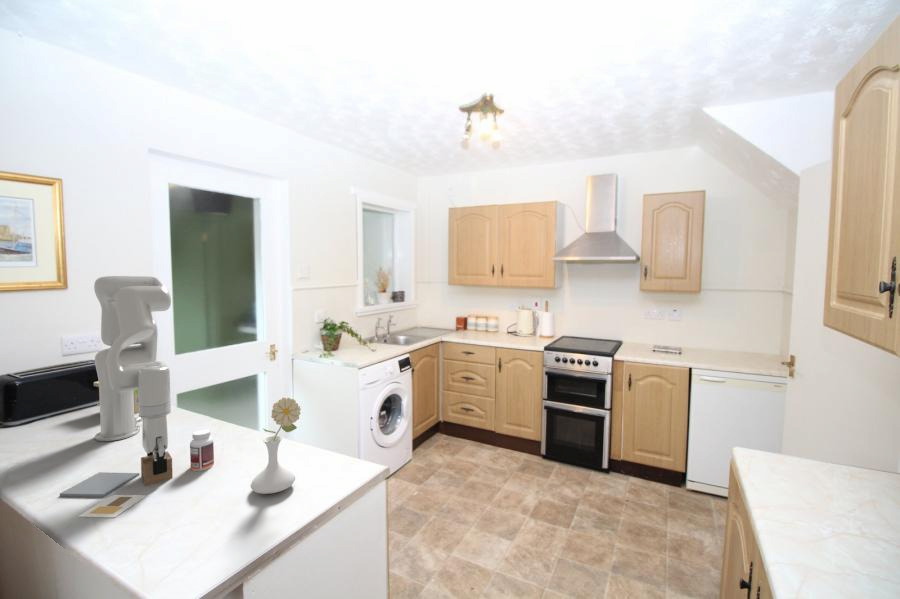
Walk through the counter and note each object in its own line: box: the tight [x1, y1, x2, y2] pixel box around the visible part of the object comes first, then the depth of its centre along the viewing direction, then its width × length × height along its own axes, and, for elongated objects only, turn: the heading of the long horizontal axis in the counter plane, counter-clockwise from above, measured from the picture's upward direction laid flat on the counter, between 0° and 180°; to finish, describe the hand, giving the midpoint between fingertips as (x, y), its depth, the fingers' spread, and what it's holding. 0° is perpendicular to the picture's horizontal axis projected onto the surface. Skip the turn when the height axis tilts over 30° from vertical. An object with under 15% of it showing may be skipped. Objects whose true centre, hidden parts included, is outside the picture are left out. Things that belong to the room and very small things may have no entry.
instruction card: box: [77, 494, 147, 519], centre depth 105 cm, size 10×9×1 cm
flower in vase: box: [250, 397, 302, 495], centre depth 115 cm, size 13×11×25 cm
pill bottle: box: [189, 429, 215, 472], centre depth 127 cm, size 6×6×11 cm
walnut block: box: [140, 451, 173, 486], centre depth 120 cm, size 6×6×6 cm
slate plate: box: [59, 471, 140, 498], centre depth 115 cm, size 12×12×1 cm
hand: (157, 467), depth 120 cm, fingers open, 9 cm apart
